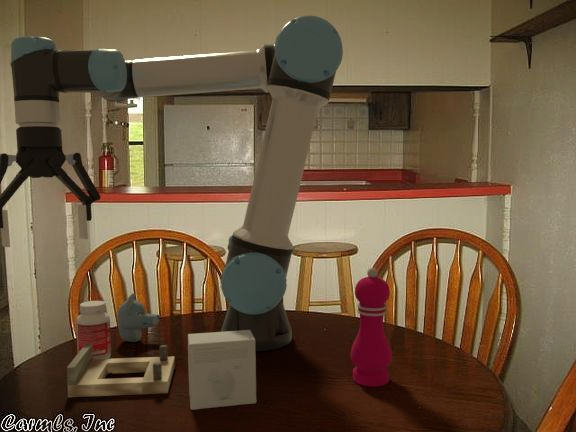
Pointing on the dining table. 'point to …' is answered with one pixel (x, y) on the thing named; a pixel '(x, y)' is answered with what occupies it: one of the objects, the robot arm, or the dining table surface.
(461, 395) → the dining table surface
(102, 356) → the pill bottle
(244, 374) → the skincare box
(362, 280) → the pepper mill
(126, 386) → the jig
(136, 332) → the wolf head
